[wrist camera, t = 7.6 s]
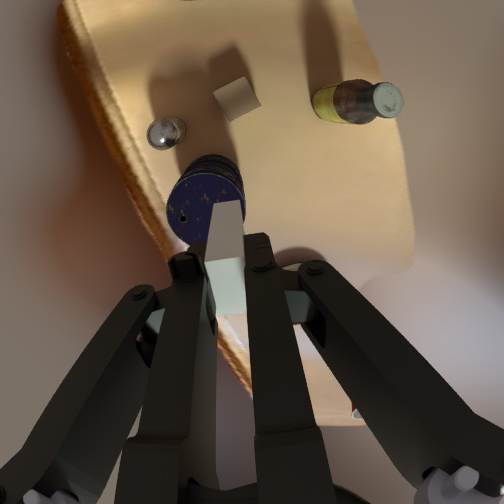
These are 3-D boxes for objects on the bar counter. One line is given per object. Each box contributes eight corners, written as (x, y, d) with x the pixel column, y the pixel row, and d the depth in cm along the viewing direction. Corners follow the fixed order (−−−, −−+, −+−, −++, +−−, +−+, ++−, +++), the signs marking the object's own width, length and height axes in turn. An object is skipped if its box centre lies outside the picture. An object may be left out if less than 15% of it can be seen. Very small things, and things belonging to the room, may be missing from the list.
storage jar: (233, 146, 46) (234, 161, 32) (249, 201, 50) (256, 237, 37) (175, 164, 46) (153, 187, 33) (193, 217, 51) (180, 257, 37)
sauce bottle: (327, 129, 45) (383, 144, 27) (302, 101, 43) (348, 97, 25) (353, 105, 43) (420, 110, 25) (330, 77, 41) (388, 64, 23)
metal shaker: (155, 120, 42) (140, 123, 35) (183, 114, 42) (172, 115, 35) (161, 147, 45) (146, 155, 37) (188, 141, 45) (178, 147, 37)
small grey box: (214, 94, 41) (212, 92, 36) (242, 80, 41) (244, 76, 35) (229, 120, 44) (229, 121, 38) (257, 106, 43) (261, 105, 37)
